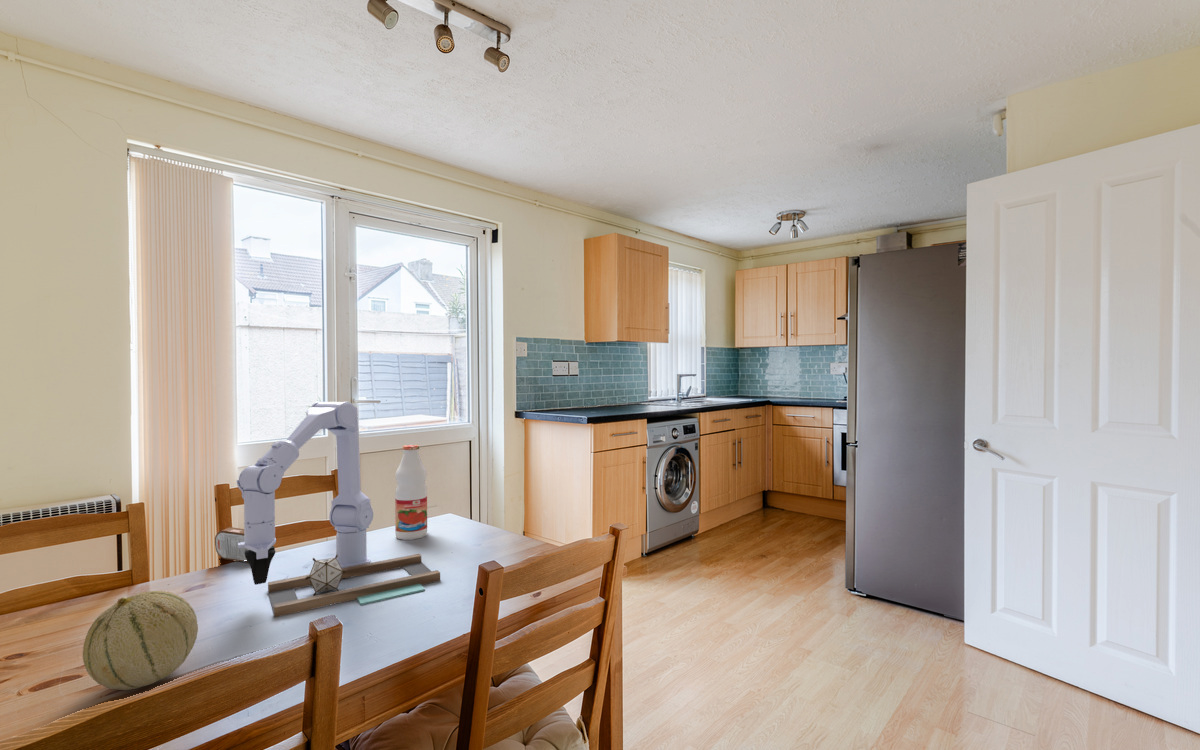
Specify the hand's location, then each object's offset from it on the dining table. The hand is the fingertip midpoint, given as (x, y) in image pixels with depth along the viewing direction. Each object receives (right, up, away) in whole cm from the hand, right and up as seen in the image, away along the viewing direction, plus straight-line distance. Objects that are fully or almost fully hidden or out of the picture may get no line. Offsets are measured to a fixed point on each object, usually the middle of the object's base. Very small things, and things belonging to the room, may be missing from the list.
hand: (260, 582), depth 122 cm
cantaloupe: (-1, -6, -30) cm, 30 cm away
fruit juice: (+16, -5, +51) cm, 54 cm away
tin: (-24, -5, +30) cm, 39 cm away
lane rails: (+16, -5, +11) cm, 20 cm away
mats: (+16, -5, +11) cm, 20 cm away
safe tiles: (+21, -5, +14) cm, 26 cm away
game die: (+11, -5, +7) cm, 14 cm away
